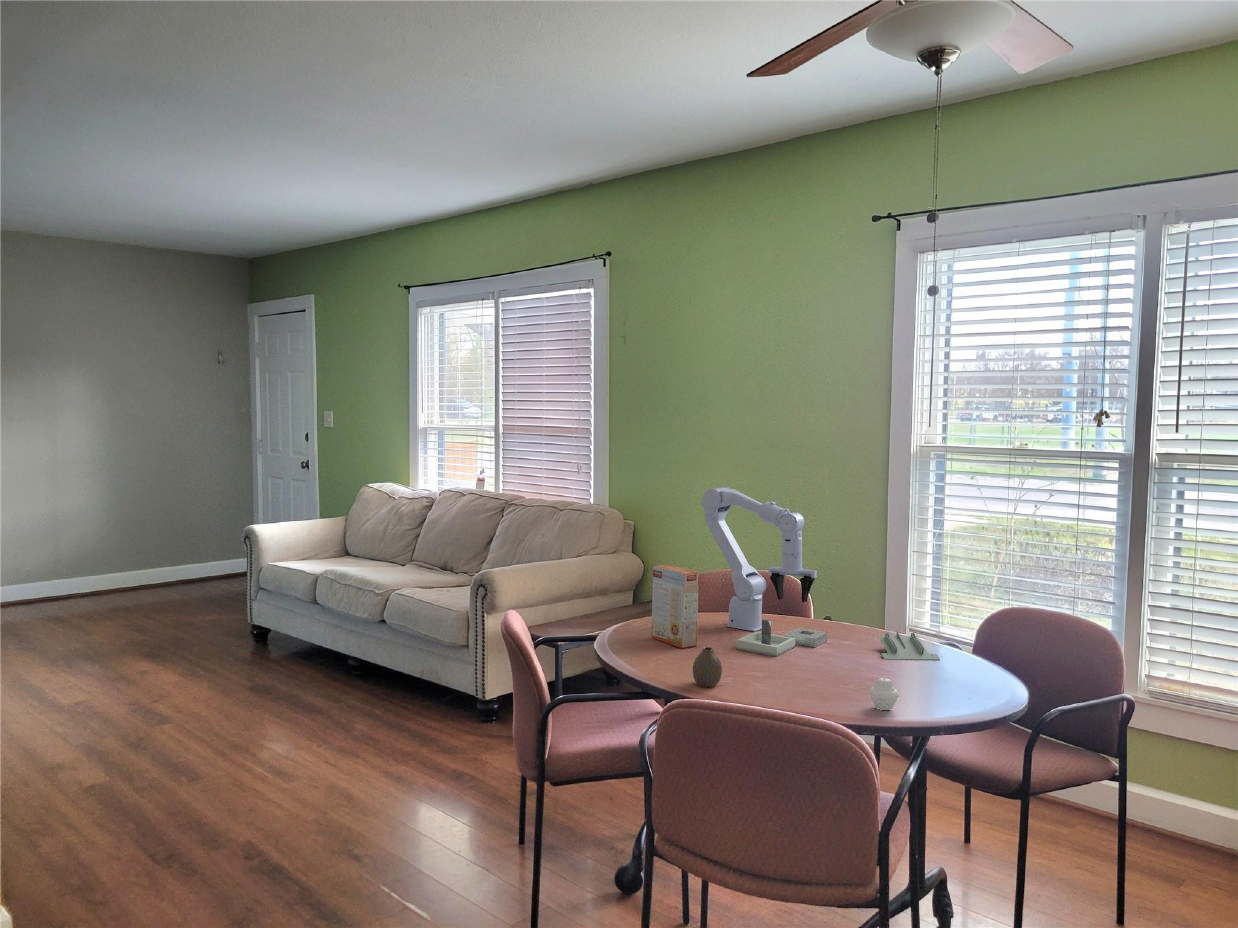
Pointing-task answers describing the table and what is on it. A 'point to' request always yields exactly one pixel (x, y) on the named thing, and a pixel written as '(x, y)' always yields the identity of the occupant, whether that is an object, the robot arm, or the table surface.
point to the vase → (707, 668)
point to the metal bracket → (905, 648)
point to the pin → (766, 632)
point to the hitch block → (807, 636)
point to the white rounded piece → (884, 694)
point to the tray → (775, 649)
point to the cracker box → (675, 605)
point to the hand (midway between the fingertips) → (792, 600)
